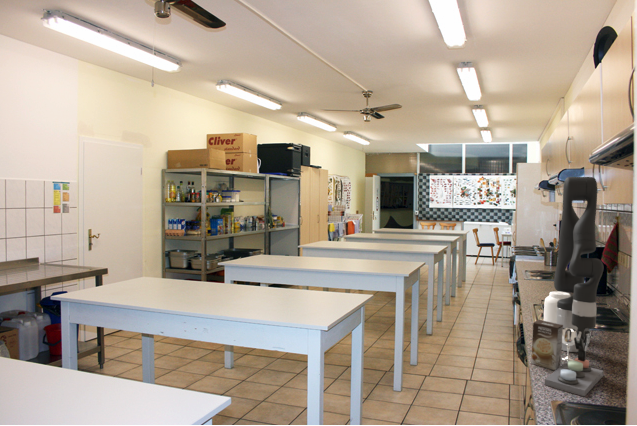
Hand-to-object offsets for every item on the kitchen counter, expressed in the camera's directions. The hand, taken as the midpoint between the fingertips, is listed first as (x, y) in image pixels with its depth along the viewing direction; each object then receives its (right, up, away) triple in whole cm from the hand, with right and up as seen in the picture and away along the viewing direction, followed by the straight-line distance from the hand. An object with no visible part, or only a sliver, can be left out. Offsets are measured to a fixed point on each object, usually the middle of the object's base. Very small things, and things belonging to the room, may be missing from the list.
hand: (581, 360), depth 163 cm
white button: (-11, -2, -11) cm, 16 cm away
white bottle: (+17, -4, +47) cm, 50 cm away
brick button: (0, -2, 0) cm, 2 cm away
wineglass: (+3, -5, +15) cm, 16 cm away
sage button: (-6, -1, -5) cm, 8 cm away
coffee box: (-9, -5, +9) cm, 13 cm away
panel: (-6, -5, -5) cm, 9 cm away
